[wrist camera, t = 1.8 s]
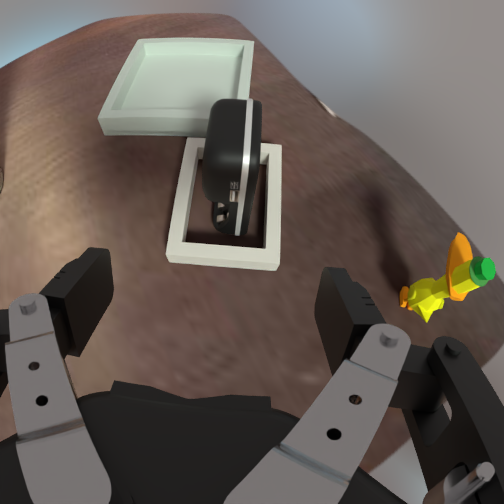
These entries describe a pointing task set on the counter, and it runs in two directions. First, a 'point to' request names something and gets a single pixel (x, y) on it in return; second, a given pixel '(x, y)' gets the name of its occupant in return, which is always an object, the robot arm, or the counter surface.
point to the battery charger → (232, 162)
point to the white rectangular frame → (223, 254)
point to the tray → (176, 85)
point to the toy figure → (449, 280)
